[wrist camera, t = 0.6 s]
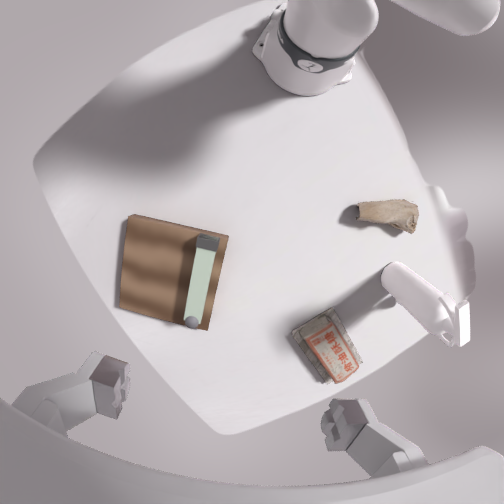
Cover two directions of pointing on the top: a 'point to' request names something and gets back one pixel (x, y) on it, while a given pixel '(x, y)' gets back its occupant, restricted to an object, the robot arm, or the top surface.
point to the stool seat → (164, 269)
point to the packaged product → (328, 347)
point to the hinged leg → (200, 278)
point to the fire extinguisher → (428, 304)
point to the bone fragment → (390, 213)
